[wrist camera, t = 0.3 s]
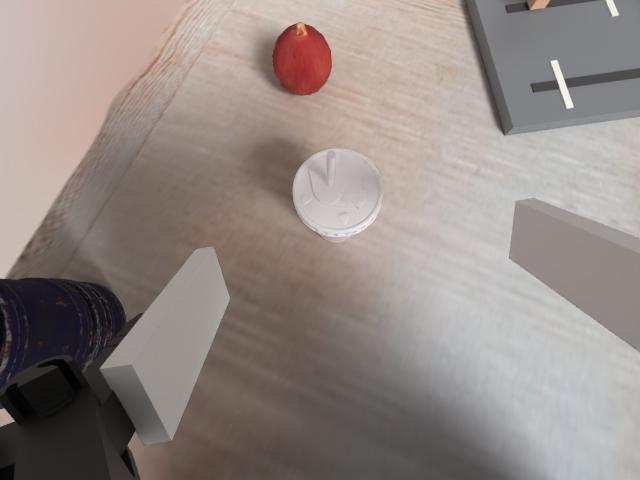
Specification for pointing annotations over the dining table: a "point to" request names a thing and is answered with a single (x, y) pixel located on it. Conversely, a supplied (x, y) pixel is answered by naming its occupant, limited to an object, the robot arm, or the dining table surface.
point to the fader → (537, 4)
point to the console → (560, 61)
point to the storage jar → (54, 322)
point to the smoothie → (337, 193)
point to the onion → (302, 59)
